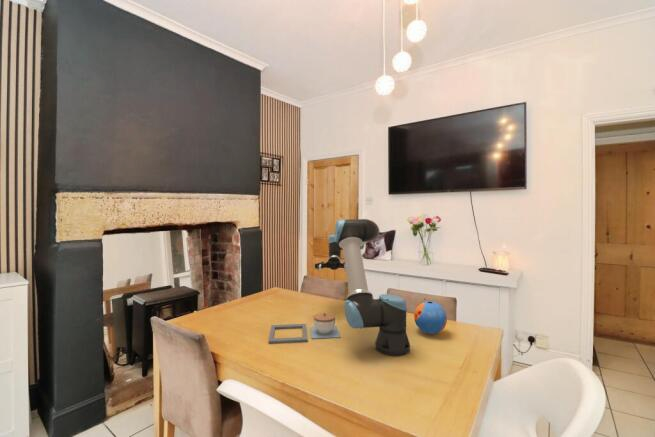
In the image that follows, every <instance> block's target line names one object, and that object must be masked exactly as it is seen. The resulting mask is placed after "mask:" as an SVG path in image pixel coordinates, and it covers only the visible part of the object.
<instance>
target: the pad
mask: <svg viewBox="0 0 655 437" xmlns="http://www.w3.org/2000/svg"><path fill="white" fill-rule="evenodd" d="M309 330H310V336H311V337H310V338H311V340H321V339H324V340H325V339H341V338H342V336H341V333H340V331H339V328H338V325H335V326H334V328H333V330H332V331H331V332H330V333H328V334H321V333H319V331H317V329H316V328H315V326H310V327H309Z"/></svg>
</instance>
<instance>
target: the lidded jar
mask: <svg viewBox="0 0 655 437" xmlns="http://www.w3.org/2000/svg"><path fill="white" fill-rule="evenodd" d="M313 322H314V323H313V324H314V327H315V328H316V329H317V331H319V333H321V334H328V333H330V332H331V331H332V330H333V328H334V326H336V315H335V314H333V313H330V312H319V313H316V314H314V315H313Z"/></svg>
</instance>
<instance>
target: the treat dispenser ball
mask: <svg viewBox="0 0 655 437" xmlns="http://www.w3.org/2000/svg"><path fill="white" fill-rule="evenodd" d="M413 315H414V316H413V318H414V323H415V325H416V326H417V328H418V329H419V330H420V331H422V332H423V333H425V334H427V335H436V334H439V333H441V332H442V331H443V330H444V329H445V328H446V325H447V322H448V321H447V320H448V319H447V312H446V310H445V309H444V307H443V306H442V305H441V304H439V303H437V302H435V301H424V302H422V303H420V304H419V305H417V306H416V308H415V310H414V314H413Z"/></svg>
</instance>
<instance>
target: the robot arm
mask: <svg viewBox="0 0 655 437" xmlns="http://www.w3.org/2000/svg"><path fill="white" fill-rule="evenodd" d="M380 233H381V232H380V228H379V226H378V224H377V223H376V222H375V221H373V220H370V219H367V218H362V219H361V218H359V219H353V218H352V219H351V218H350V219H346V218H344V219H343V218H342V219H337V221H336V223H335V227H334V234H331V235H329V236H328V260H327V261H326V262H325V261H320V262H318V263H314V269H315V270H318V272H321V271H322V269H325V268H326V269H330V270H333V271H336V270H338V269H344V272H345V273H346V279H347V287H348V293H349V294H348V295H347V296H346V300H345V302H344V304H343V309H344V311H343V312H344V316H345V319H346V322H347V324H348V326H349V327H350V328H351V329H367V328H378V334H377V336H376V339H375V343H374V348H375V350H376V351H377V352H378V353H380V354H382V355H386V356H390V357H400V356H401V357H402V356H406V355H407V354H409V353H410V352H411V344H410V340H409V336H408V334H407V311H408V310H407V302H406V300H405V299H404V298H403V297H401V296H398V295H394V294H388V293H382V294H380V295H379V297H378V298H376V299H375V298H374V296H373V293H372V292H371V291H369V287H368V282H367V278H366V272H365V267H364V266H365V265H364V260H363V256H362V251H361V250H363V249H364V247H365V245H367V243H372V242H375V241H376V240H377V239H378V238H379V235H380ZM341 254H343V259H344V261H343V262H342V255H341Z"/></svg>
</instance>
